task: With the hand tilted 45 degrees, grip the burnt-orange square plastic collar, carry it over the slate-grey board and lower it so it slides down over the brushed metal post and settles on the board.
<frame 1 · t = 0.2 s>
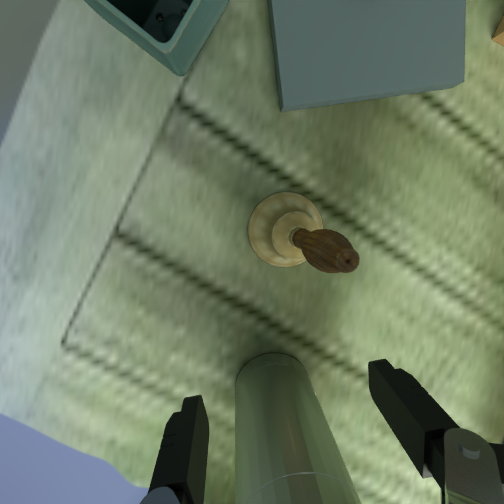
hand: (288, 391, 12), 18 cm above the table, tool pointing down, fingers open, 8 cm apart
hand bell: (284, 230, 29), on the table
flower pot: (176, 34, 25), on the table
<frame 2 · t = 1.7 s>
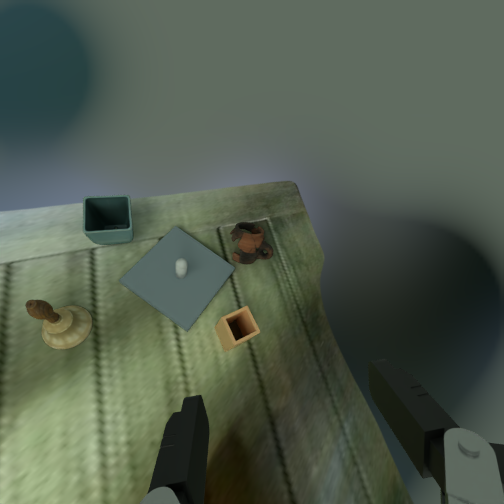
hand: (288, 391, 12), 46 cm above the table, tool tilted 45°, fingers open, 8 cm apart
hand bell: (68, 326, 51), on the table
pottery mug: (248, 250, 69), on the table
collar: (231, 334, 58), on the table
post board: (180, 276, 60), on the table
flower pot: (116, 235, 61), on the table
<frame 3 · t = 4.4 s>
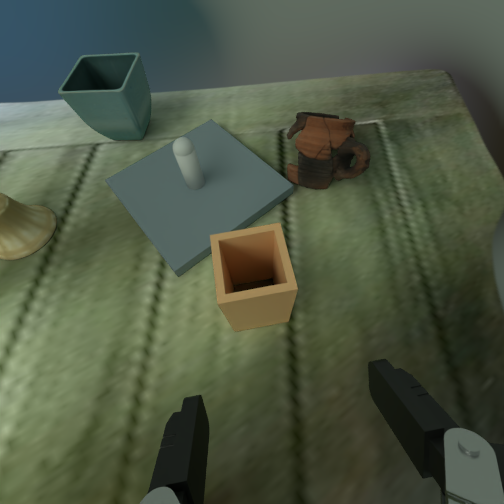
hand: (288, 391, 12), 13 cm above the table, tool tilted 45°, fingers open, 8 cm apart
hand bell: (26, 232, 34), on the table
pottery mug: (321, 169, 37), on the table
collar: (256, 300, 28), on the table
post board: (198, 190, 36), on the table
flower pot: (132, 131, 43), on the table
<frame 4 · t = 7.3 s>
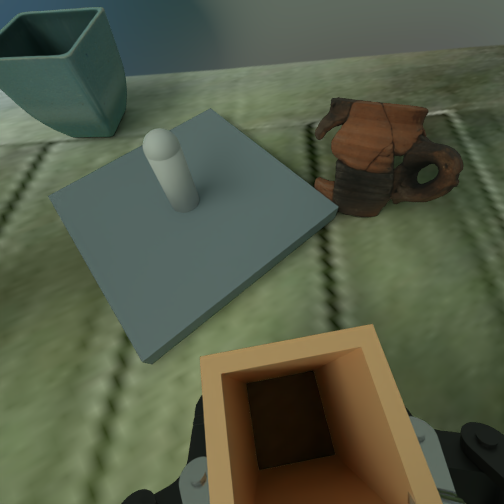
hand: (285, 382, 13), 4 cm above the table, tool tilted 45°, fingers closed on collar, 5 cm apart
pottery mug: (363, 184, 24), on the table
collar: (288, 416, 16), on the table, touching gripper
post board: (190, 211, 24), on the table
flower pot: (100, 126, 31), on the table
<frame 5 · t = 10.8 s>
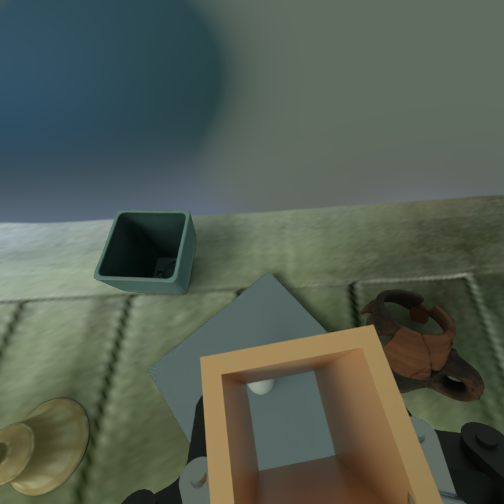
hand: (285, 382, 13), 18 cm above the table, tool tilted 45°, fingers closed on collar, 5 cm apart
hand bell: (51, 442, 28), on the table
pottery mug: (398, 352, 30), on the table
collar: (288, 417, 16), point 14 cm above the table, touching gripper
post board: (262, 381, 29), on the table
flower pot: (171, 275, 36), on the table
when the fingers open (7 cm above the table, at t = 14.4 s): collar drops 1 cm, resting on post board.
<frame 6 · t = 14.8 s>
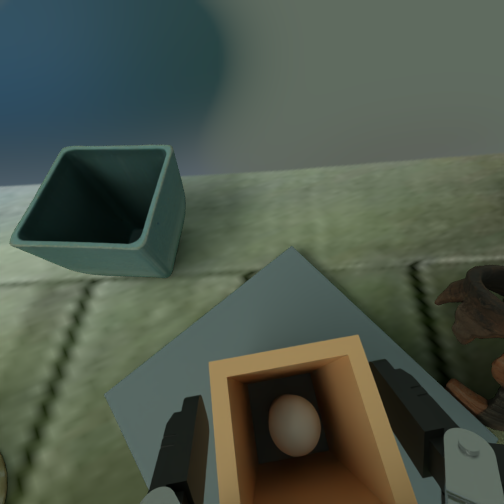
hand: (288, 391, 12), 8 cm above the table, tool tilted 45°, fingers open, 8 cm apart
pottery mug: (494, 363, 19), on the table
collar: (286, 415, 17), point 1 cm above the table, touching post board
post board: (285, 413, 18), on the table
flower pot: (151, 253, 25), on the table
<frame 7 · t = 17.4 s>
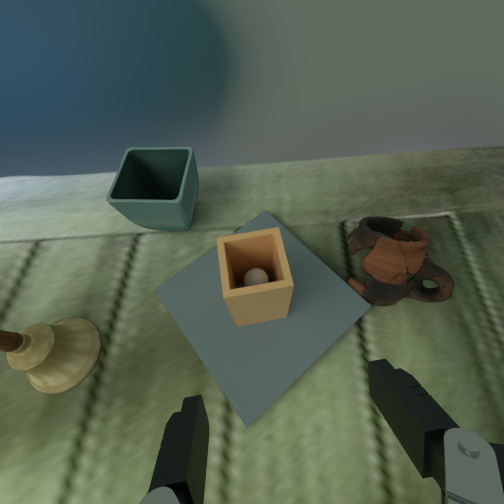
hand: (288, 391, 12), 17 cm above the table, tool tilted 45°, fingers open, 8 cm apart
hand bell: (67, 353, 31), on the table
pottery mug: (382, 275, 33), on the table
collar: (257, 298, 30), point 1 cm above the table, touching post board
post board: (258, 301, 32), on the table
flower pot: (175, 217, 39), on the table
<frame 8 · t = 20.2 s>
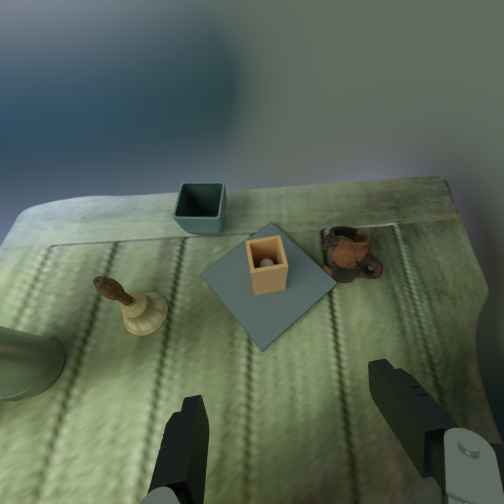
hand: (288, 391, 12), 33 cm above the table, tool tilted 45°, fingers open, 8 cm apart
hand bell: (146, 313, 49), on the table
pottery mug: (345, 264, 51), on the table, touching post board
collar: (266, 278, 49), point 1 cm above the table, touching post board
post board: (267, 281, 50), on the table
flower pot: (209, 226, 57), on the table
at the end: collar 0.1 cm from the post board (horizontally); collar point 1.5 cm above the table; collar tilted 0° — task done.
